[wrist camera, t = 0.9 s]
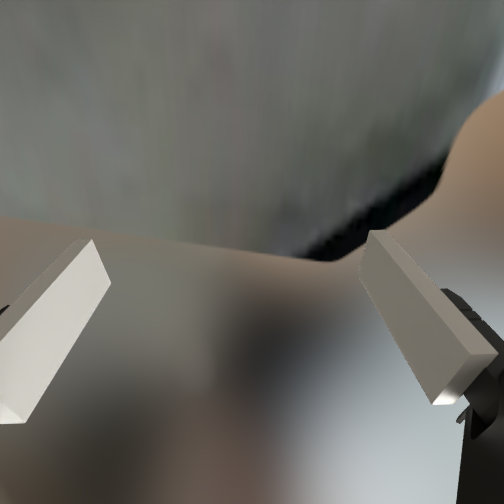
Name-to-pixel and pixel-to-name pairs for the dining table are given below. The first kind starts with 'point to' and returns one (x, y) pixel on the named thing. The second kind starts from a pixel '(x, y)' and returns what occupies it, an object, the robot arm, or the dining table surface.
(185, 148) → the dining table surface
